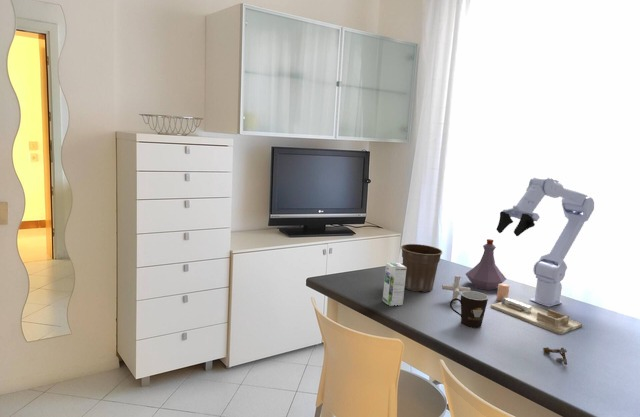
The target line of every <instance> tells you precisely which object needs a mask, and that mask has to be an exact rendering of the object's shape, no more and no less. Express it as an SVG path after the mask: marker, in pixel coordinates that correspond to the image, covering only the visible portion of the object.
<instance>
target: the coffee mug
mask: <svg viewBox="0 0 640 417" xmlns="http://www.w3.org/2000/svg"><path fill="white" fill-rule="evenodd" d="M455 300H457V302H459V303H460V312H459V311H457V310H455V309H454V307H453V306H452V304H453V303H454V302H453V301H455ZM488 301H489V296H488V295H487V294H485V293H482V292H479V291H474V290H470V291H463V292H460V298H458V299H457V298H455V299H451V300H450V301H449V307H450V308H451V310H452V311H453V312H454V313H456V314H457V315H458V316H460V323H461V325H462V326H464V327H467V328H470V329H480V328H481V327H482V324H483V320H484V317H485V313H486V309H487V305H488Z"/></svg>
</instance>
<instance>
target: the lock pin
mask: <svg viewBox="0 0 640 417" xmlns="http://www.w3.org/2000/svg"><path fill="white" fill-rule="evenodd" d="M512 299H513V298H509V297H508V298H507V297H504V298H502V304H505V305H506V304H510V305H512V306H515V307H517V308H520V309H522V311H524V312H526V313H530V312H531V308H532V307H531V306H528V305H526V304H527V303H526V304H523V303H520V302H517V301H515V300H516V299H515V300H512Z"/></svg>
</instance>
